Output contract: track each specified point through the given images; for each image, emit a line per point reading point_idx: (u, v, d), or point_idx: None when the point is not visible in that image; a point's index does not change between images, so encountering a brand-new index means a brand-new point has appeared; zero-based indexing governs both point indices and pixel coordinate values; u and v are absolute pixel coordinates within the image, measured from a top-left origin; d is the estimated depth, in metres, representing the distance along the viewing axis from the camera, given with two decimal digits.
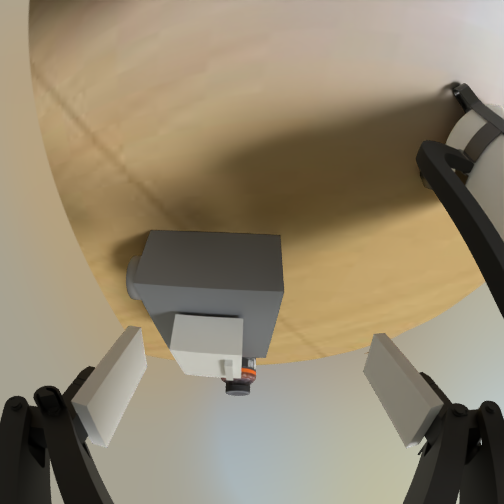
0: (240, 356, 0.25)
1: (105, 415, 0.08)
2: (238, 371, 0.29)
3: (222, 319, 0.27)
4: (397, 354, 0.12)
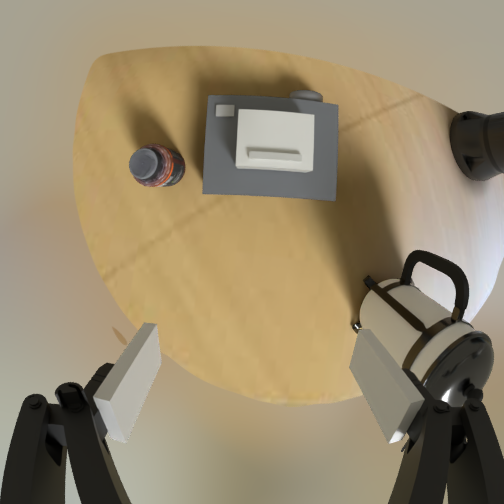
0: (309, 169, 0.31)
1: (125, 410, 0.09)
2: (264, 164, 0.30)
3: None
4: (380, 350, 0.12)
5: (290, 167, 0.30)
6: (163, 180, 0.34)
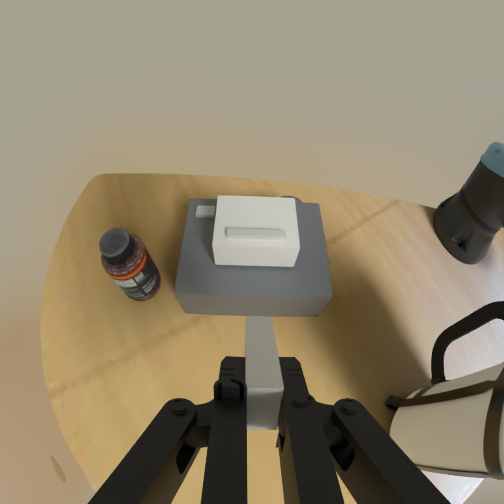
0: (296, 246, 0.28)
1: None
2: (244, 243, 0.28)
3: None
4: (267, 335, 0.14)
5: (274, 246, 0.28)
6: (132, 270, 0.29)
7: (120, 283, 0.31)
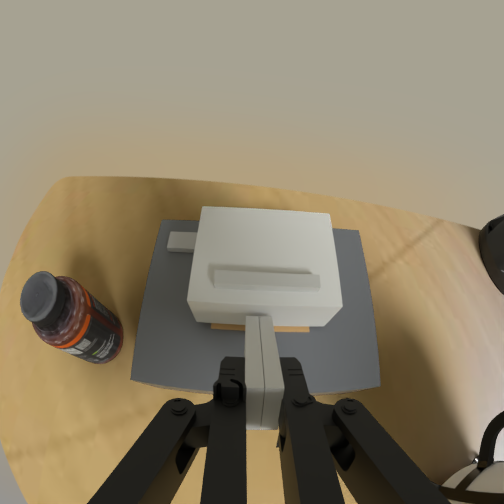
0: (336, 304, 0.15)
1: None
2: (245, 299, 0.15)
3: None
4: (268, 335, 0.14)
5: (298, 303, 0.15)
6: (68, 339, 0.16)
7: None
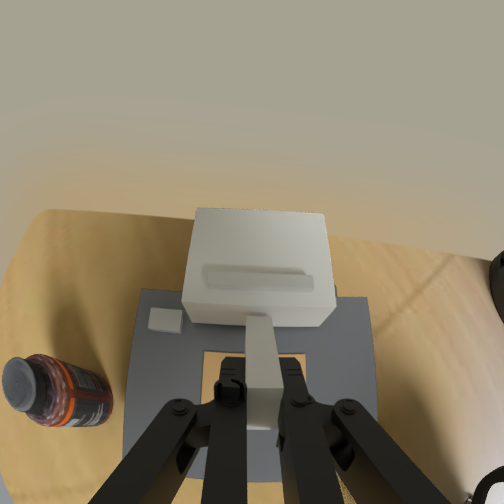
0: (330, 304, 0.15)
1: None
2: (239, 300, 0.15)
3: None
4: (267, 335, 0.14)
5: (292, 304, 0.15)
6: (56, 423, 0.12)
7: None
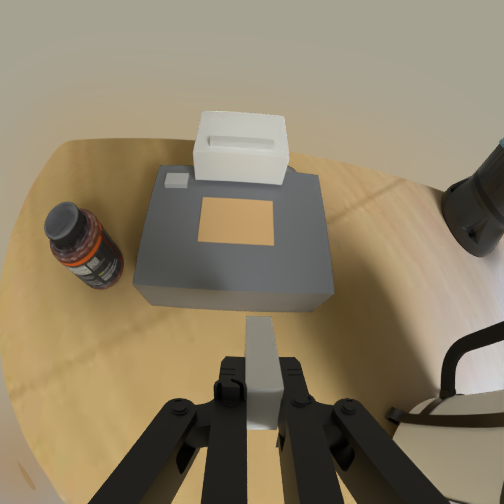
0: (285, 156, 0.24)
1: None
2: (228, 151, 0.24)
3: None
4: (267, 335, 0.14)
5: (261, 154, 0.24)
6: (82, 255, 0.21)
7: (72, 270, 0.23)
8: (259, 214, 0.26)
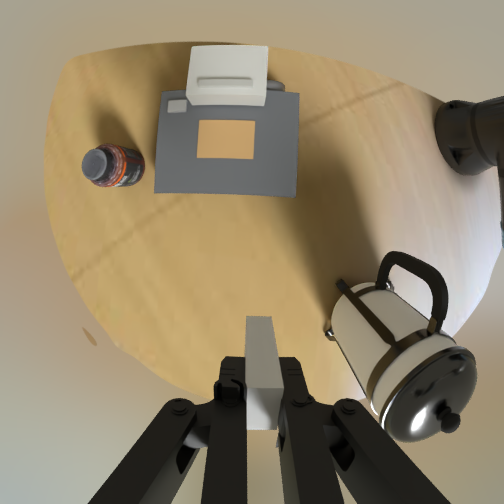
0: (262, 94, 0.26)
1: None
2: (214, 92, 0.26)
3: None
4: (267, 335, 0.14)
5: (241, 93, 0.26)
6: (115, 180, 0.31)
7: None
8: (243, 133, 0.31)
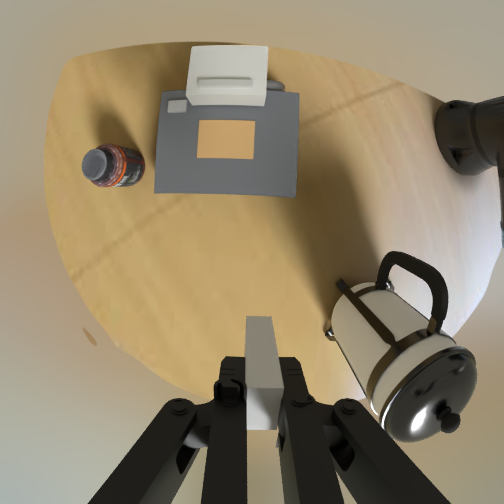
0: (262, 94, 0.26)
1: None
2: (214, 92, 0.26)
3: None
4: (267, 335, 0.14)
5: (241, 93, 0.26)
6: (115, 180, 0.31)
7: None
8: (243, 133, 0.31)
